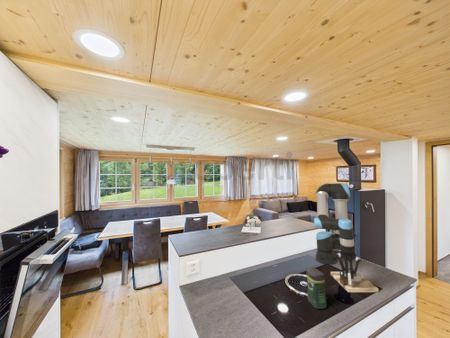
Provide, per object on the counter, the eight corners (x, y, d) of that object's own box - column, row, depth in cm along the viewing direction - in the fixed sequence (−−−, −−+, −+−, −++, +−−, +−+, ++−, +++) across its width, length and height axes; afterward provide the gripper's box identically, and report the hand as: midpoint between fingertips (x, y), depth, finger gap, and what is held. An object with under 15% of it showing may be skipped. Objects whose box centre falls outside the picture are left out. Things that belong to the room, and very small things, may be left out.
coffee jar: (329, 308, 97) (327, 273, 98) (316, 311, 96) (314, 275, 97) (317, 297, 107) (315, 265, 108) (305, 299, 105) (303, 266, 106)
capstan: (348, 273, 126) (347, 261, 127) (364, 280, 118) (364, 267, 118) (333, 281, 118) (332, 268, 119) (350, 289, 109) (349, 275, 110)
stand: (330, 274, 130) (330, 271, 130) (356, 274, 129) (356, 271, 129) (348, 292, 110) (347, 288, 110) (378, 292, 109) (378, 288, 109)
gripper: (360, 245, 111) (364, 284, 110) (336, 241, 120) (339, 277, 119) (359, 249, 106) (362, 290, 104) (334, 244, 114) (337, 282, 113)
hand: (350, 283), depth 111 cm, fingers closed
